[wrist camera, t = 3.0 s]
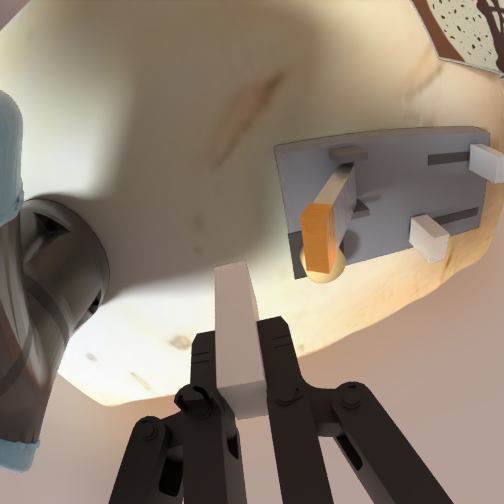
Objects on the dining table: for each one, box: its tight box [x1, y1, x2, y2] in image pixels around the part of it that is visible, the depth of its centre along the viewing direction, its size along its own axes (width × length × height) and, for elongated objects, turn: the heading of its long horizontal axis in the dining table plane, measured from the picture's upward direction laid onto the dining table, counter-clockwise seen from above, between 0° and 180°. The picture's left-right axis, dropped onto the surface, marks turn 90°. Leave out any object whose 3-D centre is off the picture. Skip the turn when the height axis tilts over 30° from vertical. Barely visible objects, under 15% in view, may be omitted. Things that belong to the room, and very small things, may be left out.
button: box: [300, 245, 346, 284], centre depth 25 cm, size 4×4×2 cm
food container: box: [410, 0, 504, 81], centre depth 12 cm, size 12×6×10 cm, turn 32°
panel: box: [274, 126, 490, 279], centre depth 24 cm, size 24×12×5 cm, turn 102°
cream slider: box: [409, 214, 450, 264], centre depth 24 cm, size 2×3×4 cm
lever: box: [300, 162, 357, 274], centre depth 19 cm, size 1×4×10 cm
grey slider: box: [469, 144, 504, 184], centre depth 20 cm, size 2×3×4 cm
